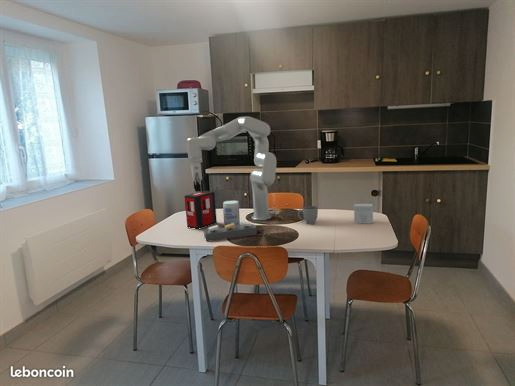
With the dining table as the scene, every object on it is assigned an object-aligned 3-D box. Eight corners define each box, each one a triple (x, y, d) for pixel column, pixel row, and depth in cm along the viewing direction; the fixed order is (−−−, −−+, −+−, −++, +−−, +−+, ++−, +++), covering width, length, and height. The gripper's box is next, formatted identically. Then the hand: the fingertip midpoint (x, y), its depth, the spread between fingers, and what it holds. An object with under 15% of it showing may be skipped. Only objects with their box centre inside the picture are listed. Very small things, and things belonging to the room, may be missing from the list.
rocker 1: (217, 226, 212) (217, 224, 212) (218, 228, 209) (218, 226, 208) (208, 229, 211) (208, 227, 211) (209, 231, 208) (209, 229, 207)
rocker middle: (233, 224, 214) (233, 222, 214) (235, 226, 211) (234, 224, 211) (225, 227, 213) (224, 225, 213) (226, 229, 210) (225, 227, 210)
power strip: (261, 229, 222) (261, 221, 221) (265, 233, 214) (265, 225, 213) (204, 237, 213) (203, 228, 212) (206, 241, 206) (205, 232, 205)
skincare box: (372, 220, 227) (372, 203, 225) (373, 223, 221) (373, 206, 219) (354, 220, 230) (354, 203, 228) (354, 223, 224) (354, 206, 222)
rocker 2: (249, 224, 217) (249, 222, 217) (251, 226, 213) (251, 224, 213) (240, 223, 215) (240, 221, 215) (242, 225, 212) (242, 223, 212)
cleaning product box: (206, 221, 247) (204, 190, 243) (216, 223, 241) (214, 191, 237) (187, 228, 234) (184, 195, 230) (197, 229, 228) (194, 197, 225)
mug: (319, 221, 232) (318, 205, 230) (316, 225, 224) (316, 209, 222) (299, 221, 236) (298, 205, 234) (296, 225, 227) (296, 209, 225)
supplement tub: (226, 228, 227) (224, 204, 225) (222, 224, 236) (221, 201, 234) (242, 226, 230) (240, 202, 227) (238, 222, 239) (236, 199, 236)
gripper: (203, 160, 208) (205, 192, 211) (200, 158, 225) (202, 187, 228) (189, 161, 206) (191, 193, 210) (187, 159, 223) (189, 188, 226)
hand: (197, 190), depth 219 cm, fingers open, 9 cm apart
